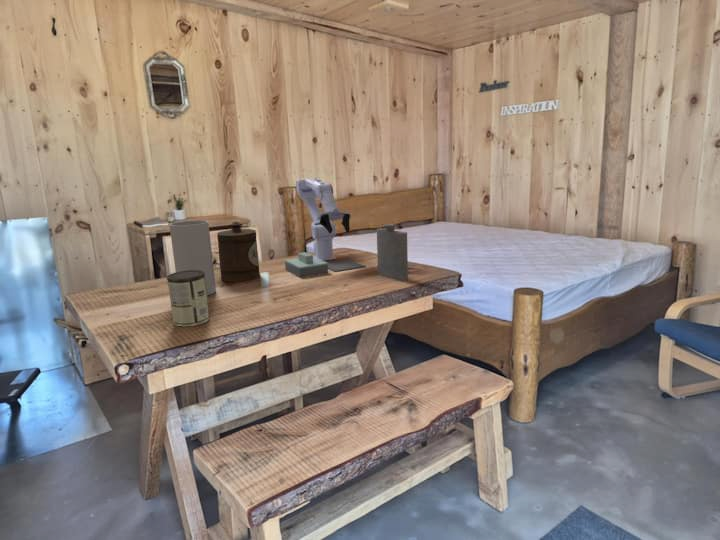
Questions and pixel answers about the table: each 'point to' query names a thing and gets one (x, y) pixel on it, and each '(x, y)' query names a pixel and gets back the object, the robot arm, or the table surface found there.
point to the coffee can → (188, 298)
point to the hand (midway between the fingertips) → (339, 231)
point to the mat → (343, 265)
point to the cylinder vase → (193, 249)
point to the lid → (305, 261)
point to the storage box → (306, 270)
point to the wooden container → (238, 254)
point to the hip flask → (392, 253)
